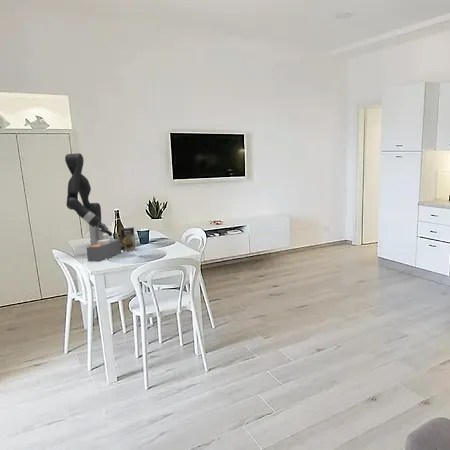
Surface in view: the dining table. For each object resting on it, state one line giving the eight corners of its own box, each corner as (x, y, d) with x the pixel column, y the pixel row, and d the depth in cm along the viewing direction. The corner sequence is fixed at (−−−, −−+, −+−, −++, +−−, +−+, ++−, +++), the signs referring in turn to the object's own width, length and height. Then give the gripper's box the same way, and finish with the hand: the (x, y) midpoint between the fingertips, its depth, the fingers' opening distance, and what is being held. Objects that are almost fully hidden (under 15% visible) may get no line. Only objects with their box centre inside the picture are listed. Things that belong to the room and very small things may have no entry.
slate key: (110, 243, 277) (109, 239, 276) (117, 243, 275) (116, 239, 274) (105, 245, 271) (104, 241, 271) (112, 245, 269) (111, 241, 269)
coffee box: (122, 251, 278) (120, 229, 276) (123, 249, 285) (121, 228, 282) (135, 250, 280) (133, 228, 277) (135, 248, 286) (133, 226, 283)
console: (110, 251, 280) (109, 239, 278) (121, 252, 277) (120, 239, 275) (88, 260, 257) (86, 247, 255) (99, 261, 254) (98, 248, 252)
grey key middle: (103, 243, 269) (102, 239, 269) (110, 243, 267) (109, 239, 267) (97, 245, 264) (97, 241, 263) (105, 245, 262) (104, 241, 261)
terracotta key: (96, 248, 262) (95, 244, 262) (103, 249, 260) (103, 244, 260) (90, 250, 256) (89, 246, 256) (97, 251, 255) (97, 246, 254)
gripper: (92, 216, 262) (113, 233, 266) (97, 213, 275) (116, 229, 279) (85, 224, 263) (106, 241, 266) (90, 221, 276) (109, 236, 279)
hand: (111, 235), depth 272 cm, fingers closed
